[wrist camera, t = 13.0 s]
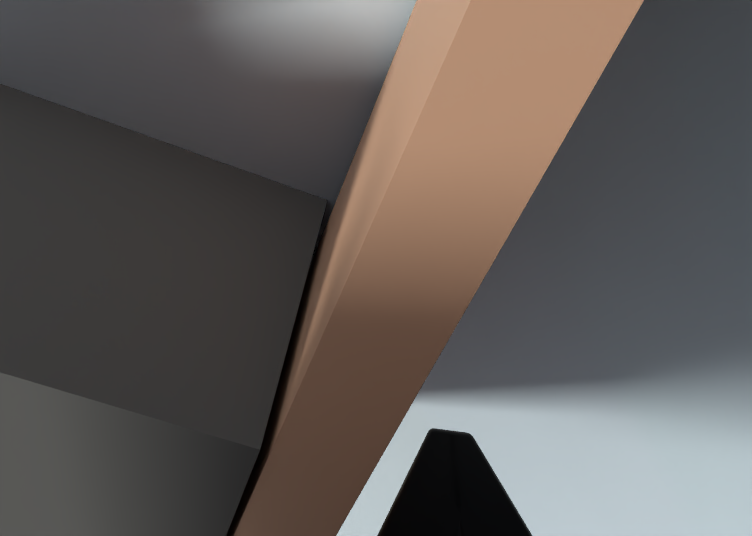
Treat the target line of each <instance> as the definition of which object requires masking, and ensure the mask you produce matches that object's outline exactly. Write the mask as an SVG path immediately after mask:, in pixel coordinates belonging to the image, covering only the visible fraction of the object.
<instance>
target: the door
mask: <svg viewBox="0 0 752 536" xmlns="http://www.w3.org/2000/svg"><path fill="white" fill-rule="evenodd" d="M643 1H644V0H417V1H416V3H415V6H414V8H413V11H412V13H411V16H410V18H409V21H408V23H407V26H406V28H405V31H404V33H403V36H402V38H401V41H400V43H399V46H398V48H397V51H396V53H395V56H394V58H393V61H392V63H391V65H390V68H389V70H388V73H387V75H386V78H385V80H384V83H383V85H382V88H381V90H380V93H379V95H378V98H377V100H376V103H375V105H374V108H373V110H372V113H371V115H370V118H369V120H368V123H367V125H366V128H365V130H364V133H363V135H362V138H361V140H360V143H359V145H358V148H357V150H356V153H355V155H354V158H353V160H352V163H351V165H350V168H349V170H348V173H347V175H346V178H345V180H344V182H343V185H342V187H341V190H340V192H339V195H338V197H337V200H336V202H335V205H334V207H333V210H332V212H331V215H330V217H329V220H328V222H327V225H326V227H325V230H324V232H323V235H322V237H321V240H320V242H319V245H318V247H317V250H316V252H315V255H314V257H313V260H312V262H311V265H310V267H309V270H308V274H307V278H306V281H305V285H304V289H303V292H302V296H301V300H300V304H299V307H298V311H297V315H296V318H295V322H294V326H293V330H292V333H291V337H290V341H289V344H288V348H287V352H286V356H285V359H284V363H283V367H282V370H281V374H280V378H279V381H278V385H277V389H276V393H275V396H274V400H273V404H272V407H271V411H270V415H269V419H268V422H267V426H266V430H265V433H264V437H263V441H262V445H261V448H260V451H259V454H258V456H257V459H256V461H255V464H254V466H253V469H252V471H251V474H250V476H249V479H248V482H247V484H246V487H245V489H244V492H243V494H242V497H241V499H240V502H239V504H238V507H237V509H236V512H235V514H234V517H233V519H232V522H231V524H230V527H229V529H228V532H227V534H226V536H336V535H337V533H338V531H339V529H340V528H341V526H342V524H343V522H344V521H345V519H346V517H347V516H348V514H349V512H350V510H351V509H352V507H353V505H354V503H355V502H356V500H357V498H358V496H359V495H360V493H361V491H362V489H363V488H364V486H365V484H366V483H367V481H368V479H369V477H370V476H371V474H372V472H373V470H374V469H375V467H376V465H377V463H378V462H379V460H380V458H381V456H382V455H383V453H384V451H385V449H386V448H387V446H388V444H389V443H390V441H391V439H392V437H393V436H394V434H395V432H396V430H397V429H398V427H399V425H400V423H401V422H402V420H403V418H404V416H405V415H406V413H407V411H408V410H409V408H410V406H411V404H412V403H413V401H414V399H415V397H416V396H417V394H418V392H419V390H420V389H421V387H422V385H423V383H424V382H425V380H426V378H427V376H428V375H429V373H430V371H431V370H432V368H433V366H434V364H435V363H436V361H437V359H438V357H439V356H440V354H441V352H442V350H443V349H444V347H445V345H446V343H447V342H448V340H449V338H450V336H451V335H452V333H453V331H454V330H455V328H456V326H457V324H458V323H459V321H460V319H461V317H462V316H463V314H464V312H465V310H466V309H467V307H468V305H469V303H470V302H471V300H472V298H473V297H474V295H475V293H476V291H477V290H478V288H479V286H480V284H481V283H482V281H483V279H484V277H485V276H486V274H487V272H488V270H489V269H490V267H491V265H492V263H493V262H494V260H495V258H496V257H497V255H498V253H499V251H500V250H501V248H502V246H503V244H504V243H505V241H506V239H507V237H508V236H509V234H510V232H511V230H512V229H513V227H514V225H515V224H516V222H517V220H518V218H519V217H520V215H521V213H522V211H523V210H524V208H525V206H526V204H527V203H528V201H529V199H530V197H531V196H532V194H533V192H534V190H535V189H536V187H537V185H538V184H539V182H540V180H541V178H542V177H543V175H544V173H545V171H546V170H547V168H548V166H549V164H550V163H551V161H552V159H553V157H554V156H555V154H556V152H557V150H558V149H559V147H560V145H561V144H562V142H563V140H564V138H565V137H566V135H567V133H568V131H569V130H570V128H571V126H572V124H573V123H574V121H575V119H576V117H577V116H578V114H579V112H580V111H581V109H582V107H583V105H584V104H585V102H586V100H587V98H588V97H589V95H590V93H591V91H592V90H593V88H594V86H595V84H596V83H597V81H598V79H599V77H600V76H601V74H602V72H603V71H604V69H605V67H606V65H607V64H608V62H609V60H610V58H611V57H612V55H613V53H614V51H615V50H616V48H617V46H618V44H619V43H620V41H621V39H622V38H623V36H624V34H625V32H626V31H627V29H628V27H629V25H630V24H631V22H632V20H633V18H634V17H635V15H636V13H637V11H638V10H639V8H640V6H641V4H642V3H643Z"/></svg>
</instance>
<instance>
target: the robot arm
mask: <svg viewBox="0 0 752 536" xmlns="http://www.w3.org/2000/svg"><path fill="white" fill-rule="evenodd" d="M377 536H532V534H531V533H530V531H529V529H528V528H527V526H526V524H525V523H524V521H523V519H522V518H521V516H520V514H519V513H518V511H517V509H516V508H515V506H514V504H513V503H512V501H511V499H510V498H509V496H508V494H507V493H506V491H505V489H504V488H503V486H502V484H501V483H500V481H499V479H498V478H497V476H496V474H495V473H494V471H493V469H492V468H491V466H490V464H489V463H488V461H487V459H486V458H485V456H484V454H483V453H482V451H481V449H480V448H479V446H478V444H477V443H476V441H475V439H474V438H473V436H472V435H471V434H469V433H465V432H458V431H450V430H443V429H435V428H432V429H430V430H429V431H428V433H427V435H426V437H425V439H424V441H423V443H422V445H421V447H420V450H419V452H418V454H417V456H416V458H415V460H414V462H413V464H412V466H411V468H410V470H409V472H408V474H407V476H406V478H405V480H404V482H403V484H402V486H401V488H400V490H399V493H398V495H397V497H396V499H395V501H394V503H393V505H392V507H391V509H390V511H389V513H388V515H387V517H386V519H385V521H384V523H383V525H382V527H381V529H380V531H379V533H378V535H377Z"/></svg>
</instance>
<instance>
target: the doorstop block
mask: <svg viewBox="0 0 752 536" xmlns="http://www.w3.org/2000/svg"><path fill="white" fill-rule="evenodd" d="M326 203H327V200H325V199H322V198H319V197H317V196H314V195H311V194H308V193H305V192H303V191H300V190H297V189H294V188H291V187H289V186H286V185H283V184H280V183H277V182H275V181H272V180H269V179H266V178H263V177H260V176H258V175H255V174H252V173H249V172H246V171H244V170H241V169H238V168H235V167H232V166H230V165H227V164H224V163H221V162H218V161H216V160H213V159H210V158H207V157H204V156H202V155H199V154H196V153H193V152H190V151H187V150H185V149H182V148H179V147H176V146H173V145H171V144H168V143H165V142H162V141H159V140H157V139H154V138H151V137H148V136H145V135H143V134H140V133H137V132H134V131H131V130H129V129H126V128H123V127H120V126H117V125H114V124H112V123H109V122H106V121H103V120H100V119H98V118H95V117H92V116H89V115H86V114H84V113H81V112H78V111H75V110H72V109H70V108H67V107H64V106H61V105H58V104H55V103H53V102H50V101H47V100H44V99H41V98H39V97H36V96H33V95H30V94H27V93H25V92H22V91H19V90H16V89H13V88H11V87H8V86H5V85H2V84H0V536H226V534H227V532H228V529H229V527H230V524H231V522H232V519H233V517H234V514H235V512H236V509H237V507H238V504H239V502H240V499H241V497H242V494H243V492H244V489H245V487H246V484H247V482H248V479H249V476H250V474H251V471H252V469H253V466H254V464H255V461H256V459H257V456H258V454H259V451H260V448H261V445H262V441H263V437H264V433H265V430H266V426H267V422H268V419H269V415H270V411H271V407H272V404H273V400H274V396H275V393H276V389H277V385H278V381H279V378H280V374H281V370H282V367H283V363H284V359H285V356H286V352H287V348H288V344H289V341H290V337H291V333H292V330H293V326H294V322H295V318H296V315H297V311H298V307H299V304H300V300H301V296H302V292H303V289H304V285H305V281H306V278H307V274H308V270H309V266H310V263H311V259H312V255H313V252H314V248H315V244H316V240H317V237H318V233H319V229H320V226H321V222H322V218H323V214H324V211H325V207H326Z"/></svg>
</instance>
